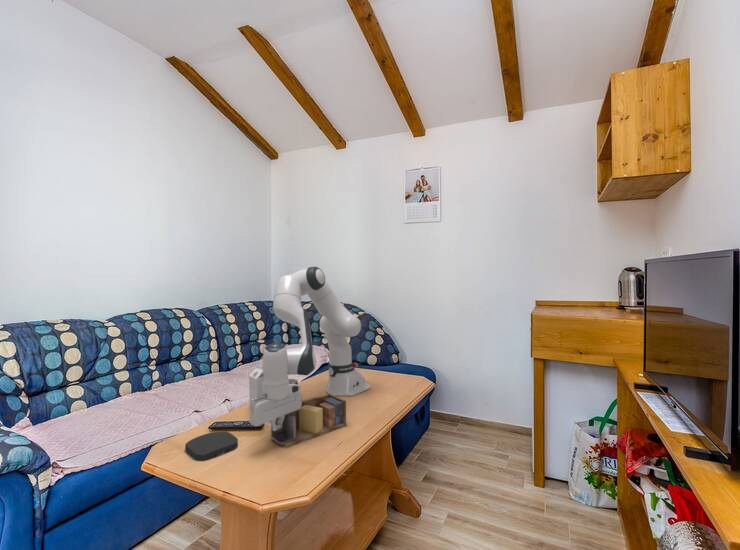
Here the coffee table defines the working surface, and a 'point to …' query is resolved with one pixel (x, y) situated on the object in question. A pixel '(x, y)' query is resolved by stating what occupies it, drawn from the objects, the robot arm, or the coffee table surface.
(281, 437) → the bookend
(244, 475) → the coffee table surface
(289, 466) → the coffee table surface
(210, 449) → the media streaming box
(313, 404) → the shelf
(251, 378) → the milk carton
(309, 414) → the book
